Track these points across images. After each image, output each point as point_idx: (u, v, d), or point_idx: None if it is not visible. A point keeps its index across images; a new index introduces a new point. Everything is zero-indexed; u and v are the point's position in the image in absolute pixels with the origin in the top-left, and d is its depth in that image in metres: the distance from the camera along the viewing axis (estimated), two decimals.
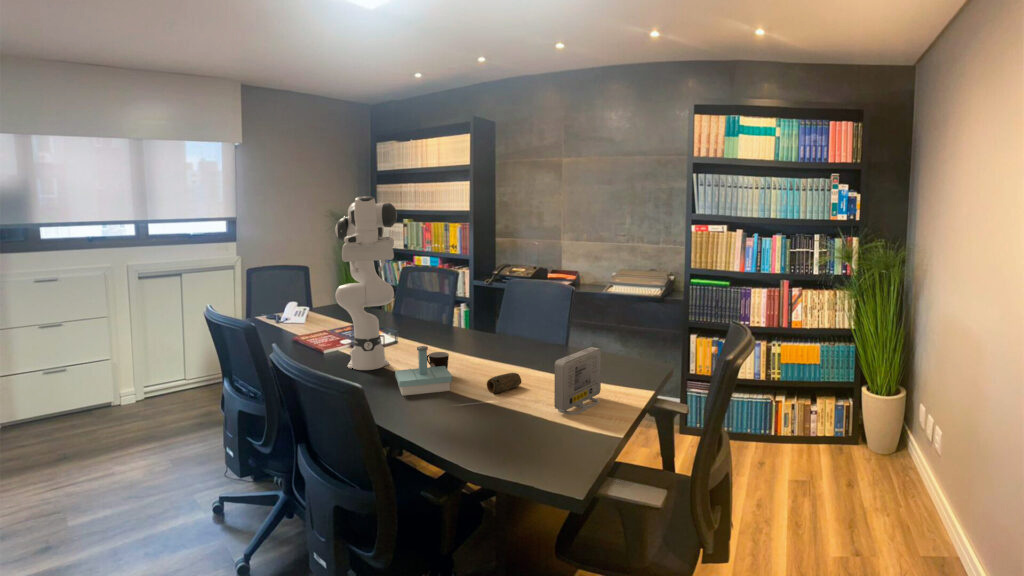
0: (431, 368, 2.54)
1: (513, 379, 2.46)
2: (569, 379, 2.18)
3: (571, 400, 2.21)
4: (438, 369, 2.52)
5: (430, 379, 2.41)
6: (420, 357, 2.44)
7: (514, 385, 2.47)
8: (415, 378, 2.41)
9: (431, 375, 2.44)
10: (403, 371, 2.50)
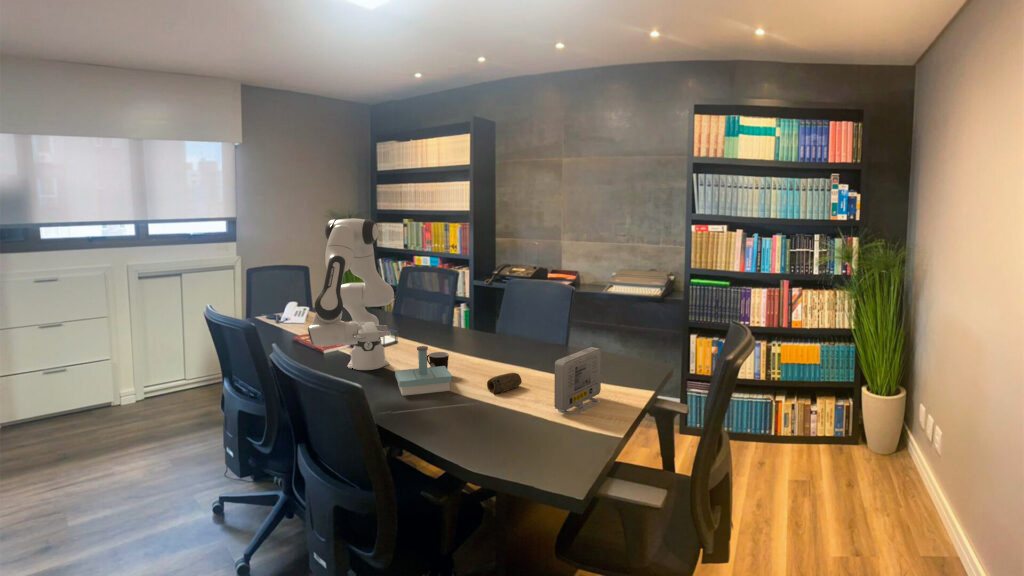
0: (431, 368, 2.54)
1: (514, 379, 2.46)
2: (569, 379, 2.18)
3: (571, 400, 2.21)
4: (438, 369, 2.52)
5: (430, 379, 2.41)
6: (420, 357, 2.44)
7: (514, 385, 2.47)
8: (415, 378, 2.41)
9: (431, 375, 2.44)
10: (403, 371, 2.50)
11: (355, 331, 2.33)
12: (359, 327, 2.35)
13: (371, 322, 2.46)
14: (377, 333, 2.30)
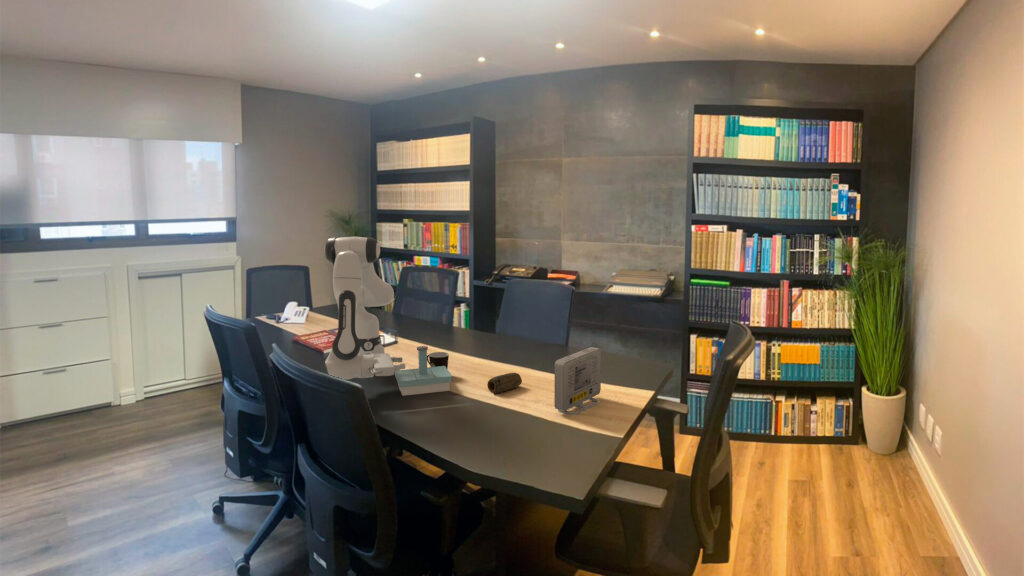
0: (431, 368, 2.54)
1: (514, 379, 2.46)
2: (569, 379, 2.18)
3: (571, 400, 2.21)
4: (438, 369, 2.52)
5: (430, 379, 2.41)
6: (420, 357, 2.44)
7: (515, 385, 2.47)
8: (415, 378, 2.41)
9: (431, 375, 2.44)
10: (403, 371, 2.50)
11: (371, 365, 2.36)
12: (375, 361, 2.39)
13: (386, 354, 2.50)
14: (393, 367, 2.33)
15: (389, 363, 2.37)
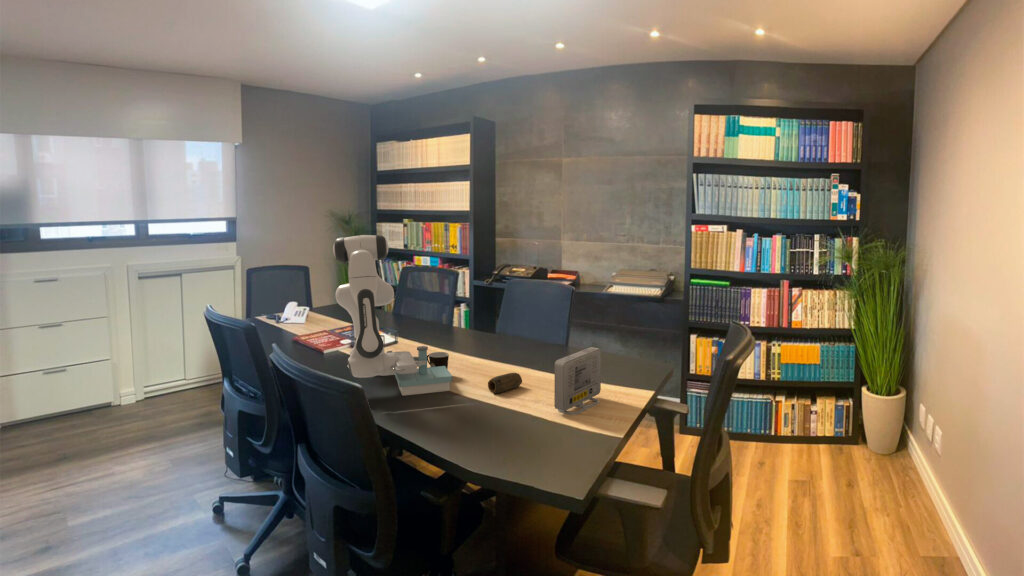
0: (431, 368, 2.54)
1: (514, 379, 2.46)
2: (569, 379, 2.18)
3: (571, 400, 2.21)
4: (438, 369, 2.52)
5: (430, 379, 2.41)
6: (420, 357, 2.44)
7: (515, 385, 2.47)
8: (415, 378, 2.41)
9: (431, 375, 2.44)
10: None
11: (393, 363, 2.39)
12: (397, 358, 2.41)
13: (407, 352, 2.52)
14: (415, 365, 2.36)
15: (411, 361, 2.40)
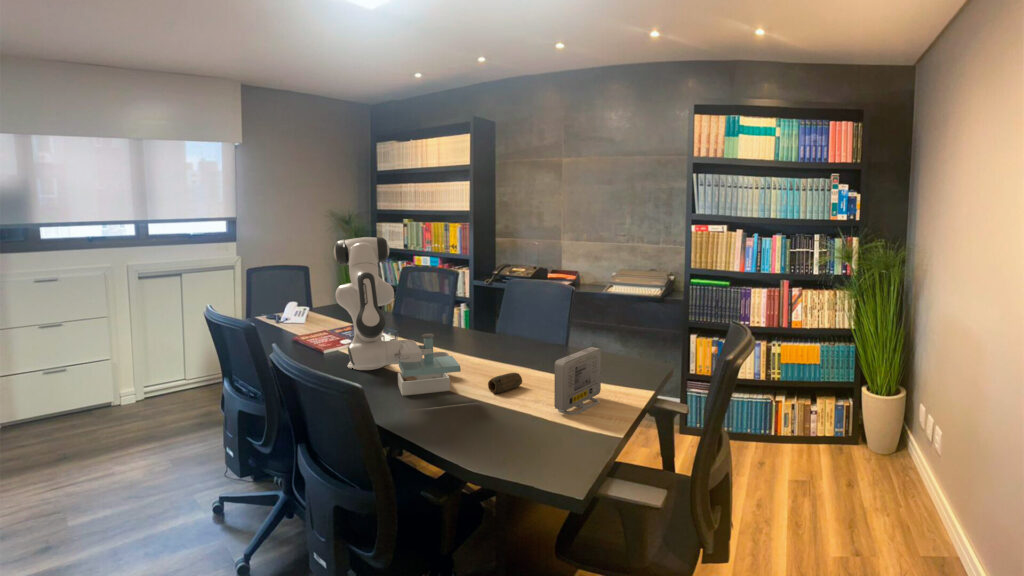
0: (437, 358, 2.37)
1: (515, 379, 2.46)
2: (569, 379, 2.18)
3: (571, 400, 2.21)
4: (445, 359, 2.35)
5: (437, 369, 2.24)
6: (426, 345, 2.28)
7: (515, 385, 2.47)
8: (420, 367, 2.24)
9: (437, 364, 2.28)
10: None
11: (397, 351, 2.22)
12: (401, 346, 2.25)
13: (412, 340, 2.36)
14: (421, 353, 2.19)
15: (416, 349, 2.23)
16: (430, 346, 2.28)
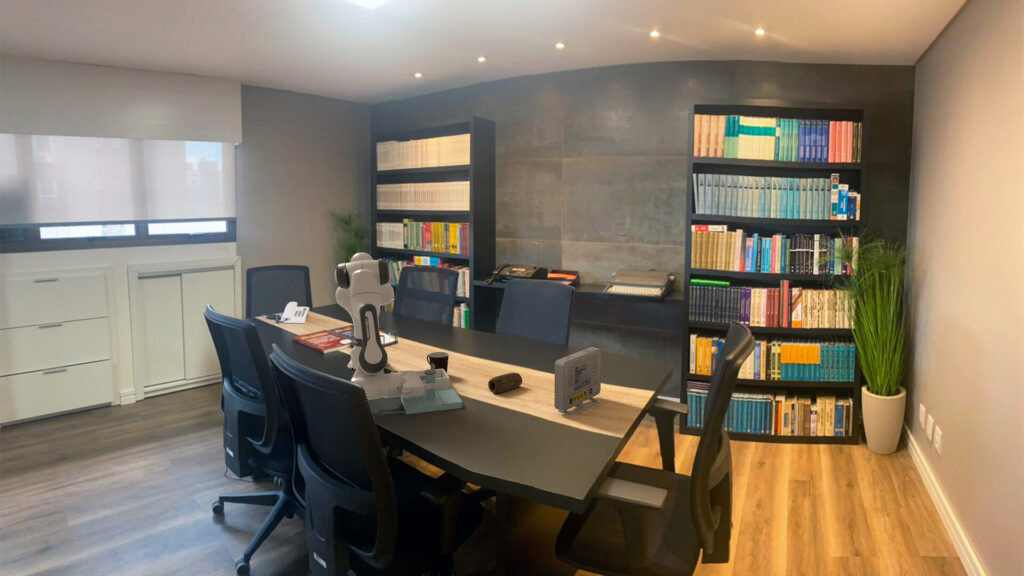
0: (439, 392, 2.38)
1: (515, 379, 2.46)
2: (569, 379, 2.18)
3: (571, 400, 2.21)
4: (447, 393, 2.36)
5: (439, 405, 2.25)
6: (428, 381, 2.28)
7: (515, 385, 2.47)
8: (423, 404, 2.25)
9: (440, 401, 2.28)
10: (409, 396, 2.34)
11: (399, 384, 2.22)
12: (403, 379, 2.25)
13: (414, 371, 2.36)
14: (423, 387, 2.19)
15: (418, 382, 2.23)
16: None
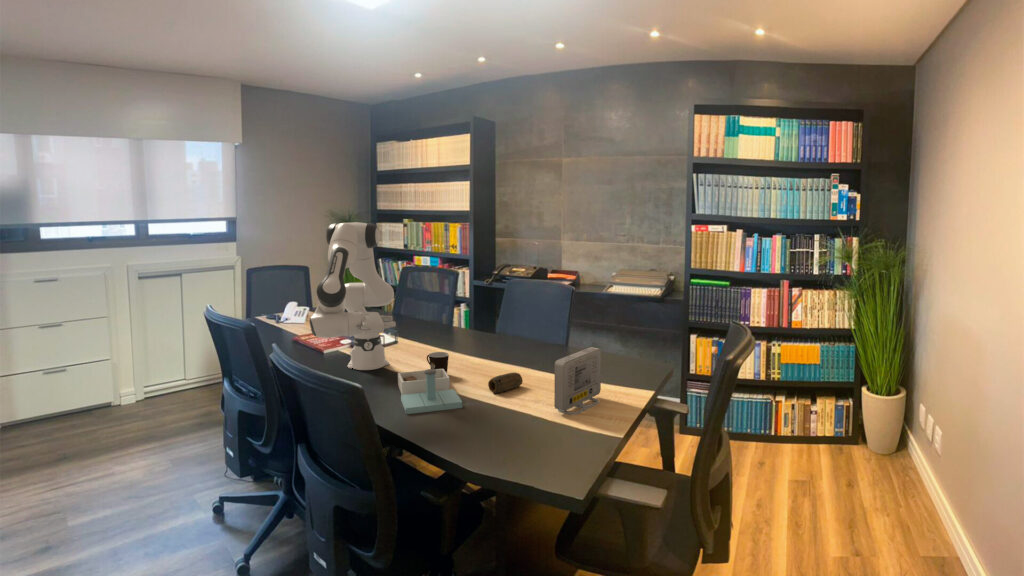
0: (439, 392, 2.38)
1: (515, 379, 2.47)
2: (569, 379, 2.18)
3: (571, 400, 2.21)
4: (447, 393, 2.36)
5: (439, 405, 2.25)
6: (428, 381, 2.28)
7: (515, 385, 2.47)
8: (423, 404, 2.25)
9: (440, 401, 2.28)
10: (409, 396, 2.34)
11: (359, 322, 2.22)
12: (363, 318, 2.24)
13: (375, 312, 2.35)
14: (382, 324, 2.19)
15: (378, 320, 2.22)
16: (432, 382, 2.29)
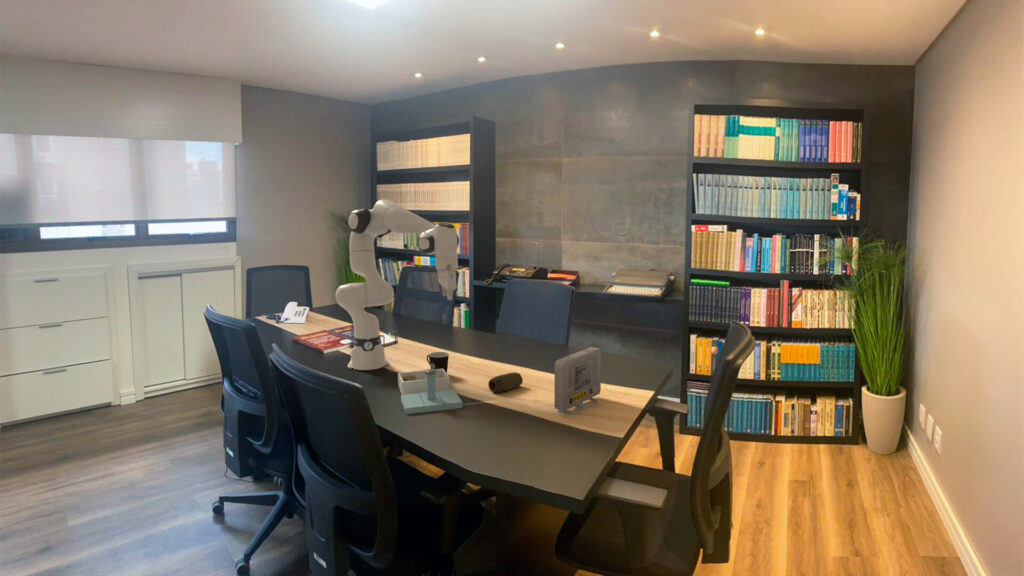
0: (439, 392, 2.38)
1: (515, 379, 2.47)
2: (569, 379, 2.18)
3: (571, 400, 2.21)
4: (447, 393, 2.36)
5: (439, 405, 2.25)
6: (428, 381, 2.28)
7: (515, 385, 2.47)
8: (423, 404, 2.25)
9: (440, 401, 2.28)
10: (409, 396, 2.34)
11: (452, 267, 2.41)
12: None
13: None
14: (455, 288, 2.37)
15: None
16: (432, 382, 2.29)
